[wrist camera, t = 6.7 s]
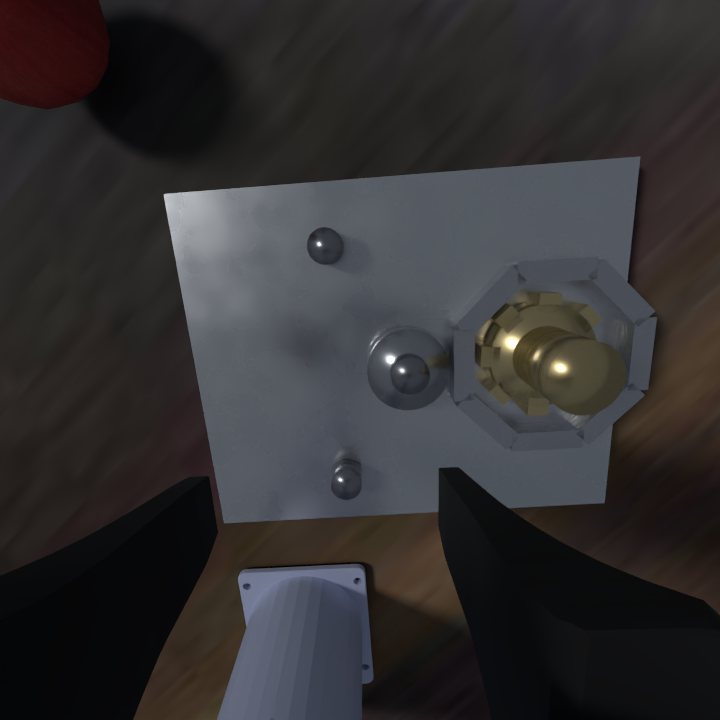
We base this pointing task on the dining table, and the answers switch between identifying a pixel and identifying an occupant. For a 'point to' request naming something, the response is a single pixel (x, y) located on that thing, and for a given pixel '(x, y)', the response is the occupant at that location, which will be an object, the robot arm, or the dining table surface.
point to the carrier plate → (338, 311)
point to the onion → (51, 51)
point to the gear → (550, 357)
